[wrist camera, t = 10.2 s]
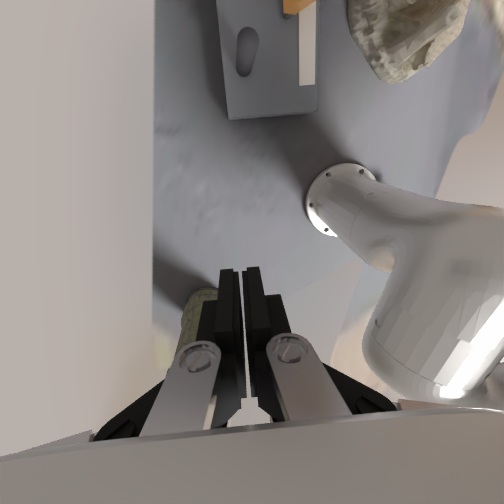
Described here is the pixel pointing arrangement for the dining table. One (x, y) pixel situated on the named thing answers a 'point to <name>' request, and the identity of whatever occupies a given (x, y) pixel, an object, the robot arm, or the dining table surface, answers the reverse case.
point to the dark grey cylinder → (246, 50)
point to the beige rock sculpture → (404, 33)
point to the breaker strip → (270, 59)
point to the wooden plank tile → (294, 6)
